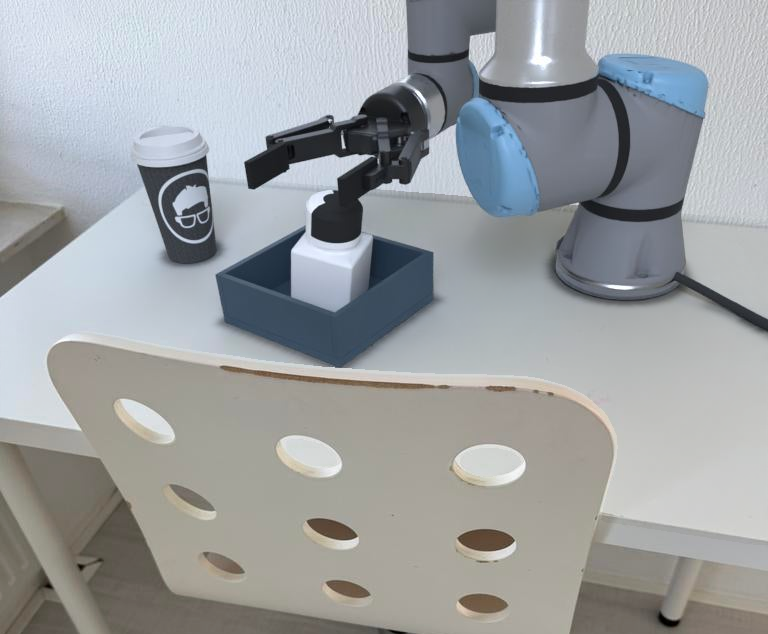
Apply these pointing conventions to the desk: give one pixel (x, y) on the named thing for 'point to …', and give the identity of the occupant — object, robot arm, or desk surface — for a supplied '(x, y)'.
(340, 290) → the medicine bottle
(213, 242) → the coffee cup
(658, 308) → the desk surface
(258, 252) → the bin
